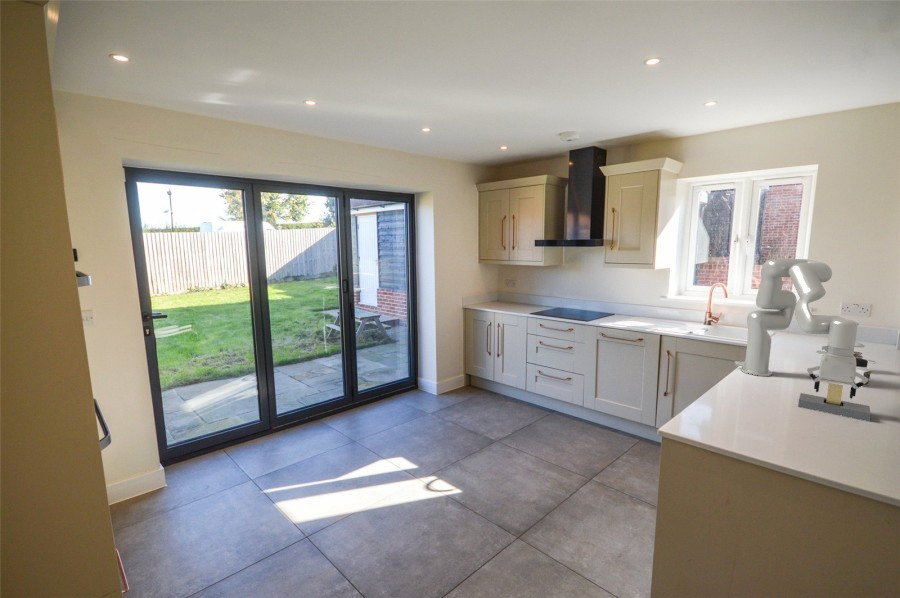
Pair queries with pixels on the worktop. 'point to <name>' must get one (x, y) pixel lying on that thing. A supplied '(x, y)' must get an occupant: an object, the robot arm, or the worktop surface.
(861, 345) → the french press
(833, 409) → the grey socket block
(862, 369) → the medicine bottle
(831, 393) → the brass peg
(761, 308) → the robot arm
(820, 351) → the adjustable wrench
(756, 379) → the worktop surface
